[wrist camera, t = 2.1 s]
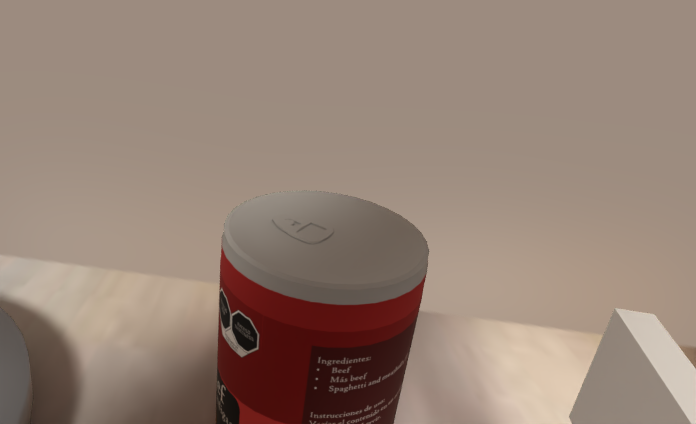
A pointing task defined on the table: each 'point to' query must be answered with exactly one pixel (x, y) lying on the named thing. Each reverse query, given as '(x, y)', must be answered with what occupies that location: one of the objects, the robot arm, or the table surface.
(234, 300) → the canned food
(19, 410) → the turntable
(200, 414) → the table surface
